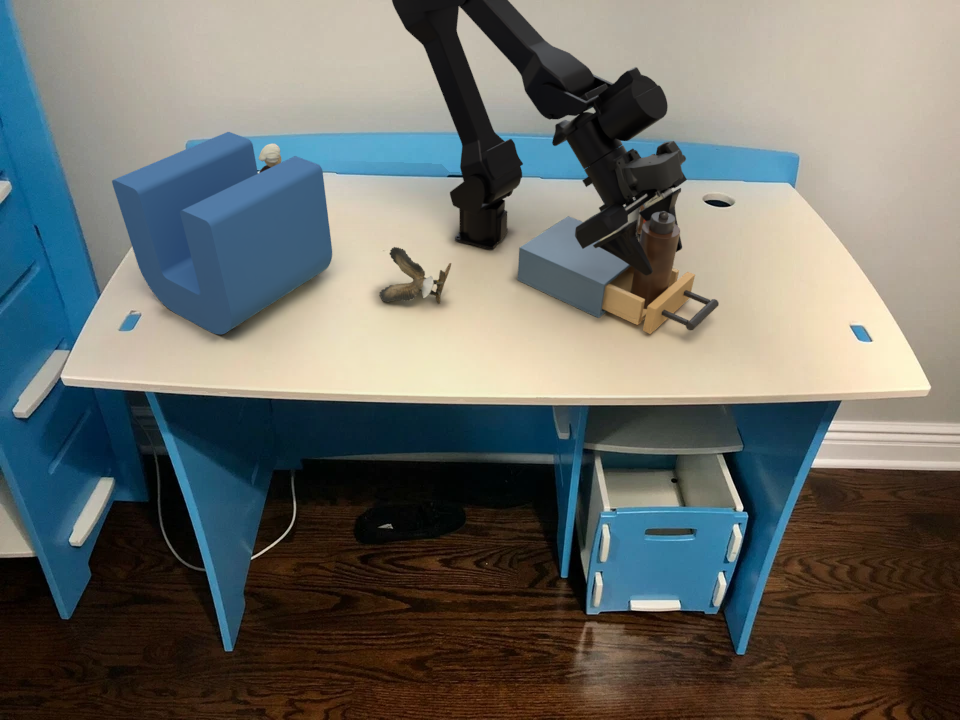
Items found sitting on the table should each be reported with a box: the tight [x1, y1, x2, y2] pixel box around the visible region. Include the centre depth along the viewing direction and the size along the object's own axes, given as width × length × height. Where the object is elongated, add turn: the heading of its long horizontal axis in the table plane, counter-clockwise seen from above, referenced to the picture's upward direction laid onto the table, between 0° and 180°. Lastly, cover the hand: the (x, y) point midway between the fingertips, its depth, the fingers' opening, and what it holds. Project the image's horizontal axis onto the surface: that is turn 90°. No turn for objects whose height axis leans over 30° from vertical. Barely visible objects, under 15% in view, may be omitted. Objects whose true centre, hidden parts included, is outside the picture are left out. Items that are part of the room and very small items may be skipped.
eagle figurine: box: [379, 246, 452, 304], centre depth 104 cm, size 8×7×9 cm
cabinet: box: [517, 215, 630, 319], centre depth 108 cm, size 14×12×6 cm
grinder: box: [630, 211, 681, 309], centre depth 99 cm, size 5×5×13 cm
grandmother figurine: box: [258, 143, 282, 173], centre depth 118 cm, size 8×4×13 cm, turn 58°
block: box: [111, 131, 333, 335], centre depth 100 cm, size 18×18×18 cm
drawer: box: [602, 266, 719, 335], centre depth 103 cm, size 18×11×4 cm, turn 50°
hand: (664, 262), depth 99 cm, fingers open, 7 cm apart
